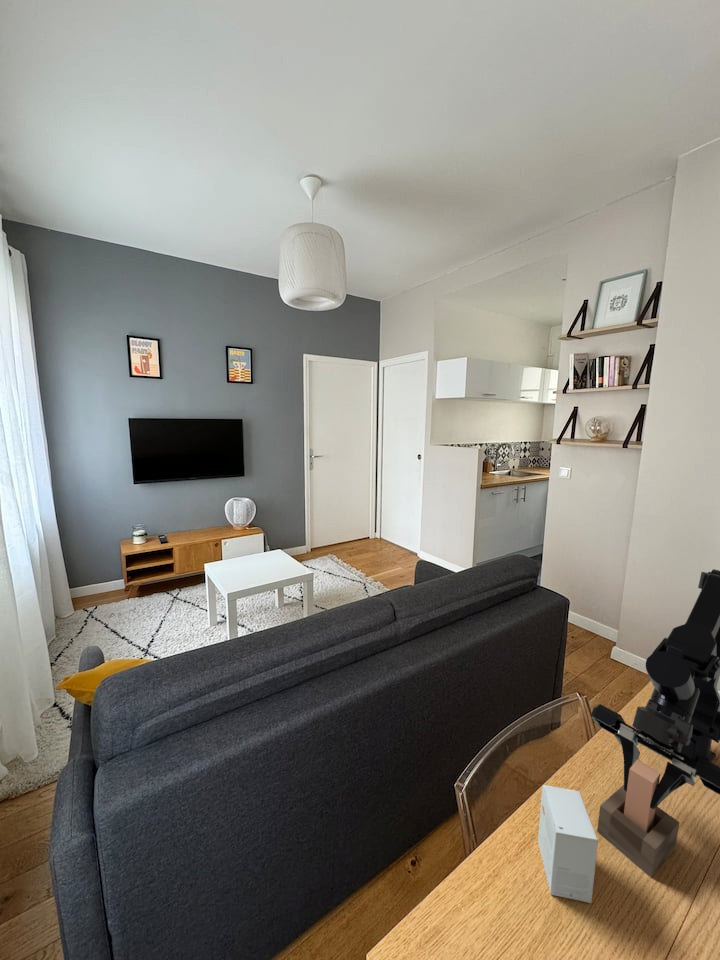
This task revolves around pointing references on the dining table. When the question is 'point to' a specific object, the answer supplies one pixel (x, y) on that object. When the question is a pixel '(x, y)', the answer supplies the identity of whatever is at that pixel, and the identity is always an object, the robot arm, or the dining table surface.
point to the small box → (567, 844)
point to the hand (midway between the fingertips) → (638, 799)
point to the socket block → (638, 834)
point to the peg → (641, 794)
